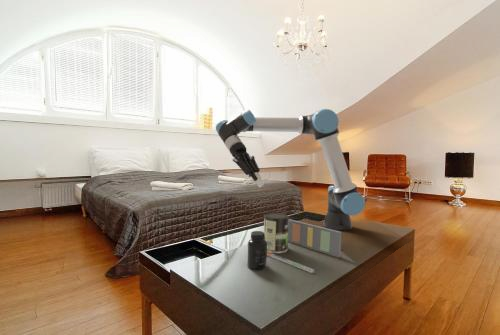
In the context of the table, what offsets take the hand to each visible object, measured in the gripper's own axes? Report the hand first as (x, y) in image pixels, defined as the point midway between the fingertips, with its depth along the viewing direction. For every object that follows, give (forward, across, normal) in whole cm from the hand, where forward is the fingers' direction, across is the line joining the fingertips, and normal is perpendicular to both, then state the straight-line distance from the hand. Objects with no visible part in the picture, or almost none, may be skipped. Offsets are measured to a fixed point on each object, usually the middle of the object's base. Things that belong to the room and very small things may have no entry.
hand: (261, 185), depth 112 cm
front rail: (+31, -9, +5) cm, 32 cm away
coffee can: (+25, -1, +12) cm, 27 cm away
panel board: (+32, +11, +5) cm, 34 cm away
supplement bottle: (+28, -19, +8) cm, 35 cm away
